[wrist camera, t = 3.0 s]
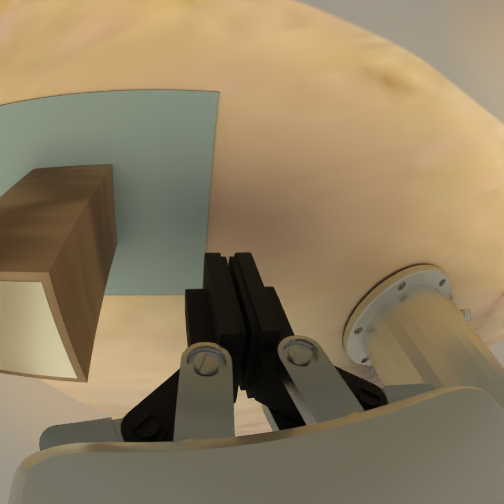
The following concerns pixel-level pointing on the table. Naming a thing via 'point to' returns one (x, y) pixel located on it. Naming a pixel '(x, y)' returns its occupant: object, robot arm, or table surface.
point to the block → (54, 269)
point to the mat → (129, 173)
